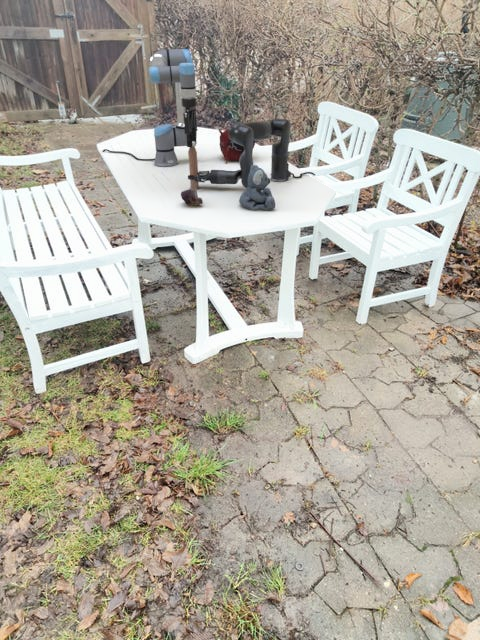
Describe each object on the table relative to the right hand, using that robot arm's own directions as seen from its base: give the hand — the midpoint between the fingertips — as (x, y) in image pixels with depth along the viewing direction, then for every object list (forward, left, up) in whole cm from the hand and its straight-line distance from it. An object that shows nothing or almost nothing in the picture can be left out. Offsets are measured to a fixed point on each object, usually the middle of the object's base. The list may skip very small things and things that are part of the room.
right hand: (189, 175), depth 250 cm
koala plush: (-27, +39, -7) cm, 48 cm away
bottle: (-3, +1, -7) cm, 7 cm away
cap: (-2, +1, +18) cm, 18 cm away
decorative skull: (-42, -50, -7) cm, 66 cm away
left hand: (-2, +1, +16) cm, 17 cm away
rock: (+5, +27, -7) cm, 28 cm away
